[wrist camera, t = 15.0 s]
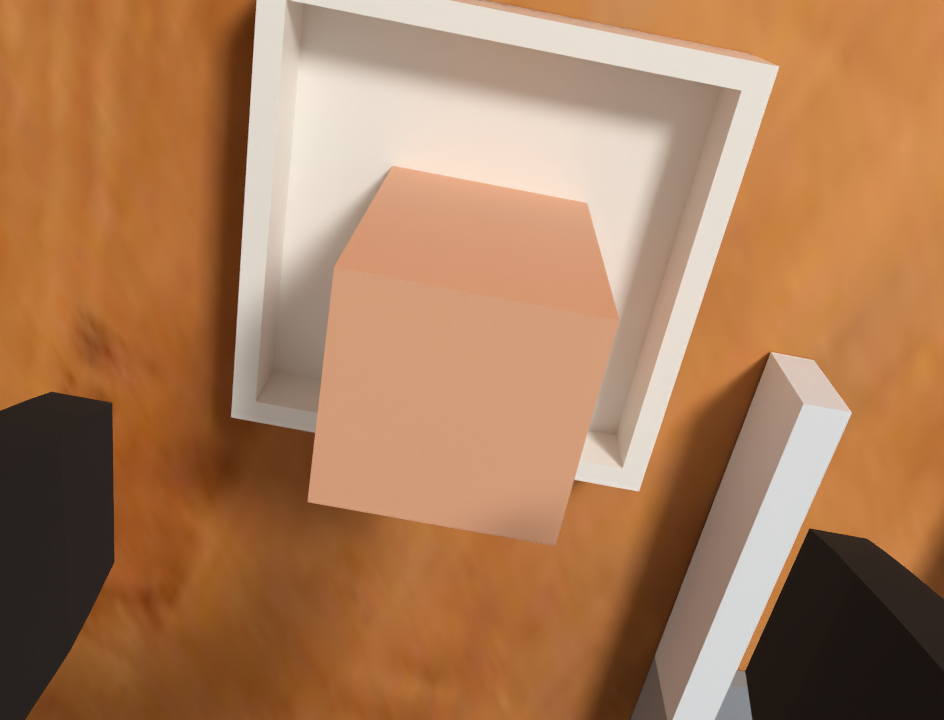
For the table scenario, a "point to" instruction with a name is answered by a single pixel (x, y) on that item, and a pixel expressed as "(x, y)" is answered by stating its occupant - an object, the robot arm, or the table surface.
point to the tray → (489, 175)
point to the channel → (748, 533)
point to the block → (462, 357)
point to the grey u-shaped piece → (731, 715)
